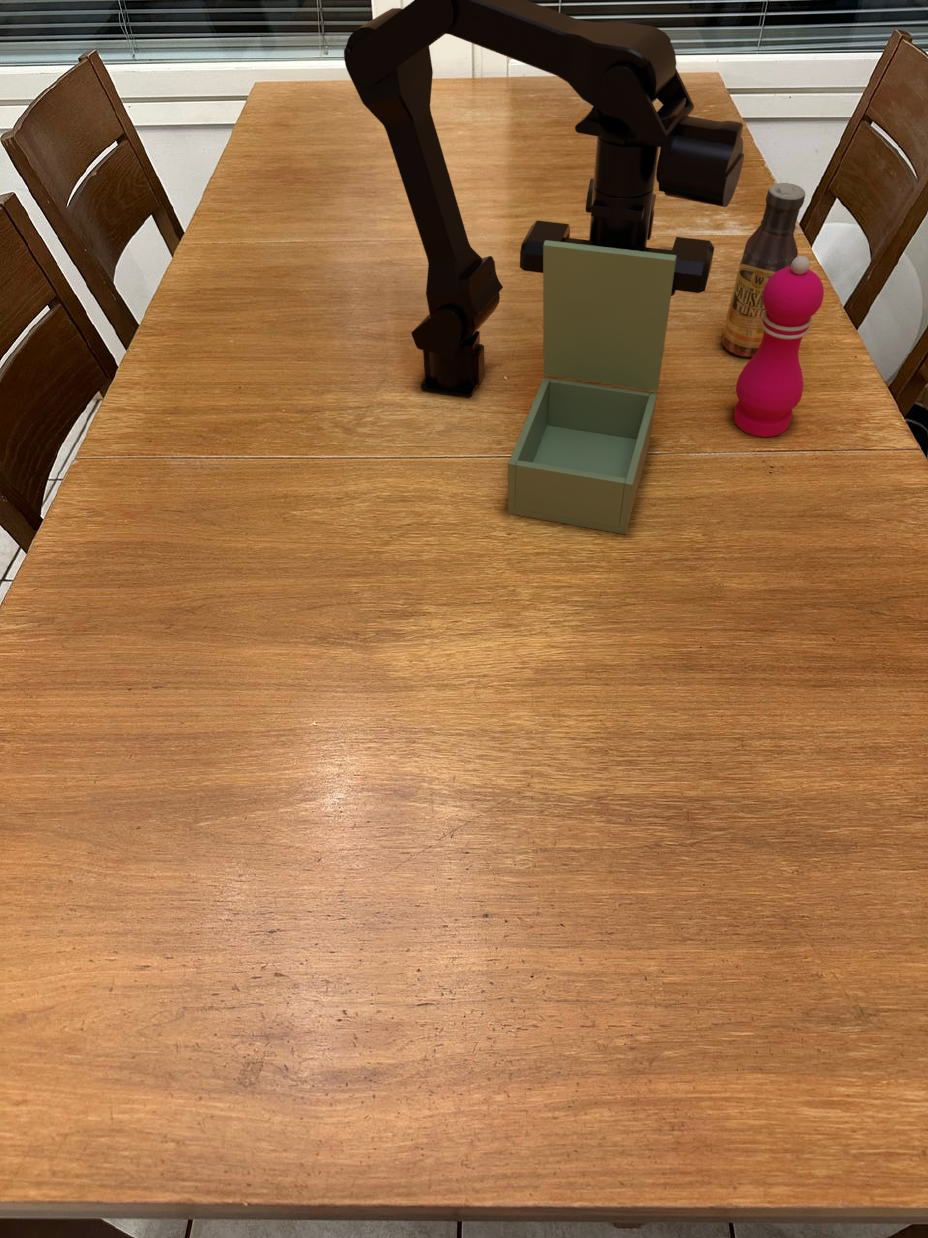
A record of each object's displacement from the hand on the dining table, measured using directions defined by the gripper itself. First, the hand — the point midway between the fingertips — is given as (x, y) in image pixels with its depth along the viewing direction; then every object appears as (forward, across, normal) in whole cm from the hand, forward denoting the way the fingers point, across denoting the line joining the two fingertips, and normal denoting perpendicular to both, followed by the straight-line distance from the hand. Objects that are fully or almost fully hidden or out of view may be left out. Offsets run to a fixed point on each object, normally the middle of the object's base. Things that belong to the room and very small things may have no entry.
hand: (608, 330), depth 101 cm
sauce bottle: (+12, -15, -20) cm, 27 cm away
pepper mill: (+12, -18, -5) cm, 22 cm away
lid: (-4, 0, +4) cm, 6 cm away
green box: (+12, 0, +10) cm, 16 cm away
